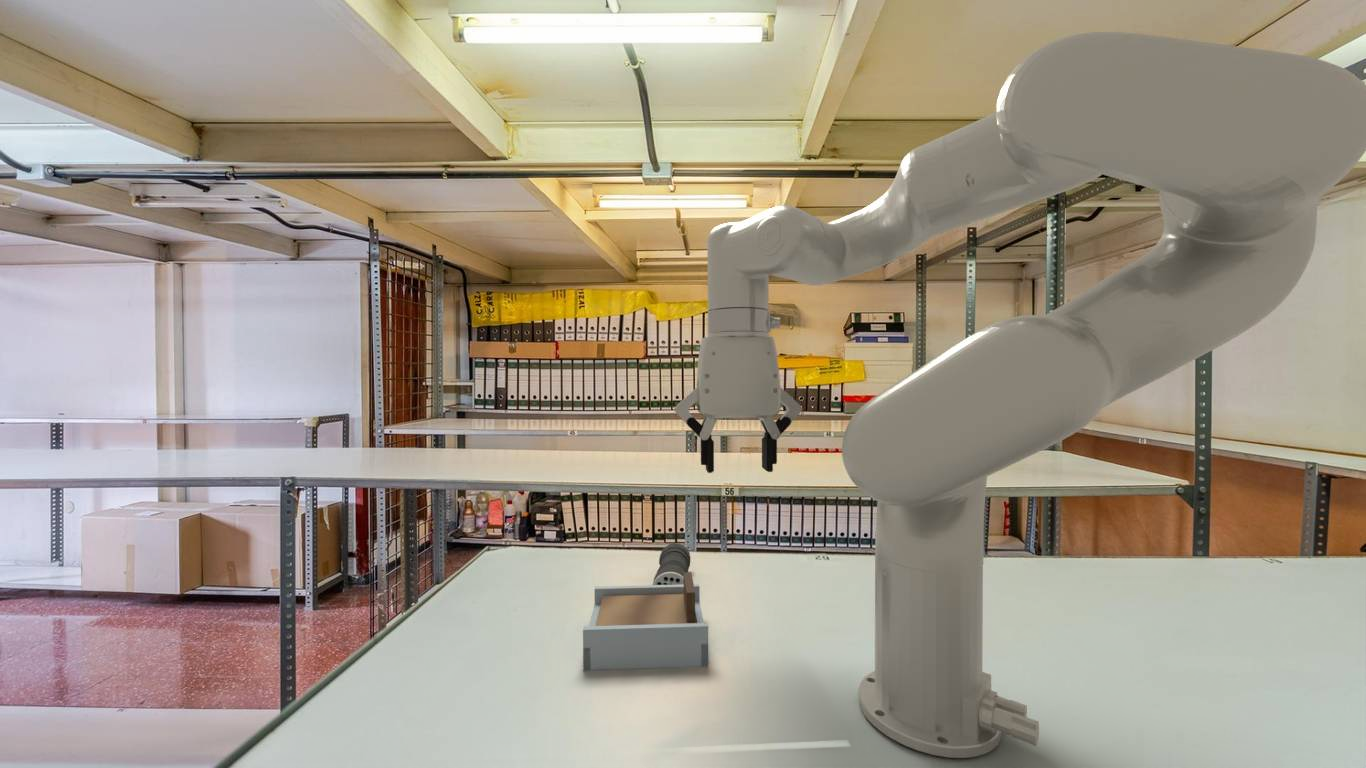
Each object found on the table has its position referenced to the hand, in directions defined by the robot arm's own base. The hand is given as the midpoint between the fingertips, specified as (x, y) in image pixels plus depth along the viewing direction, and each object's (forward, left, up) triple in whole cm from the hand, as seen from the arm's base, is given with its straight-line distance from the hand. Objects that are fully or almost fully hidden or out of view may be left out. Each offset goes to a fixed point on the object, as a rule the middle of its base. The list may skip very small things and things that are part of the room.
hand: (738, 469), depth 65 cm
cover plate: (+8, +8, -19) cm, 22 cm away
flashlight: (+17, -7, -22) cm, 29 cm away
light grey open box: (+8, +8, -22) cm, 24 cm away
